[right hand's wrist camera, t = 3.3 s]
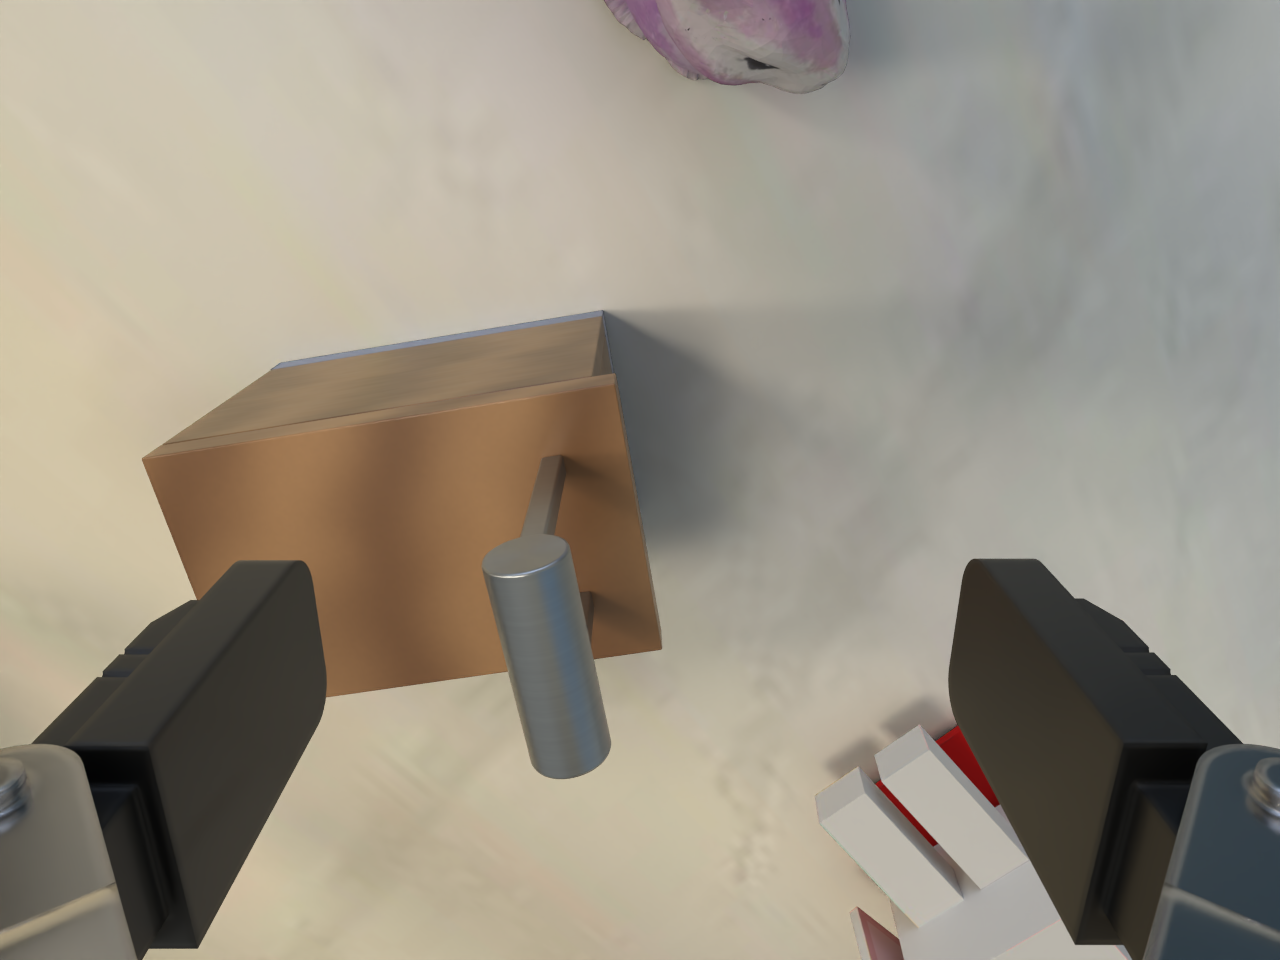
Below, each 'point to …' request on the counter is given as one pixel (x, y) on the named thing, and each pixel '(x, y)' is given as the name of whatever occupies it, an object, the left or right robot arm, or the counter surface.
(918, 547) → the counter surface
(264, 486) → the lid
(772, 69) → the figurine
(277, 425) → the chest
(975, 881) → the toy
